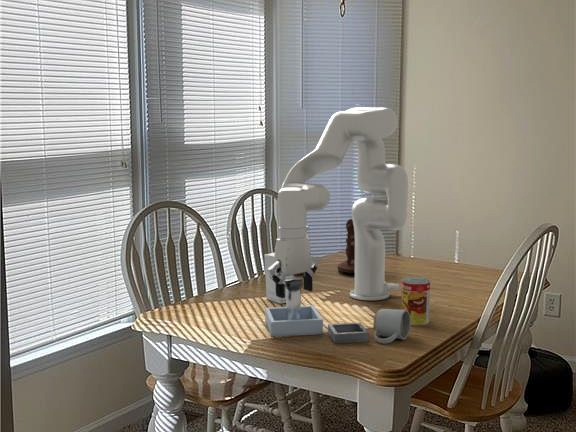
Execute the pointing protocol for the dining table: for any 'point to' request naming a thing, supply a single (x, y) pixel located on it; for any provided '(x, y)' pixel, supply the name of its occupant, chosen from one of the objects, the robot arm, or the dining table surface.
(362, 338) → the socket collar
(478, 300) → the dining table surface
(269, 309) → the bin
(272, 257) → the skincare box
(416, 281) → the canned food
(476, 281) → the dining table surface
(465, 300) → the dining table surface
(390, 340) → the ceramic mug
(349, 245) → the brown carved statue
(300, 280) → the black capped silver cylinder
